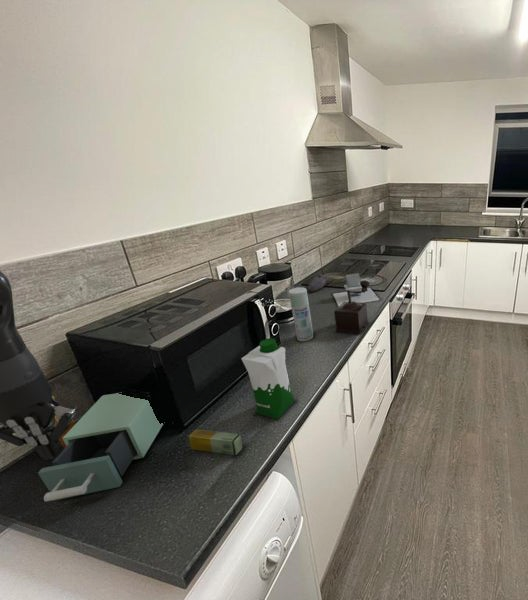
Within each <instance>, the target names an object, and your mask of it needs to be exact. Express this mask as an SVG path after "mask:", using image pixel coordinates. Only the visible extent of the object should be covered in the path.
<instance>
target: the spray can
mask: <svg viewBox="0 0 528 600" xmlns="http://www.w3.org/2000/svg"><path fill="white" fill-rule="evenodd" d="M288 297H289V302H290V307H291V312H292V318H293V324H294V328H295V329H294V330H295V334H296V339H297V340H298V341H299V342H306V341H307V342H308V341H310V340H312V339H313V338H314V331H313V330H314V329H313V323H312V315H311V310H310V304H309V297H308V288H306V287H303V286H302V287H301V286H300V287H299V286H298V287H293V288H291V289H289V290H288Z"/></svg>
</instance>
